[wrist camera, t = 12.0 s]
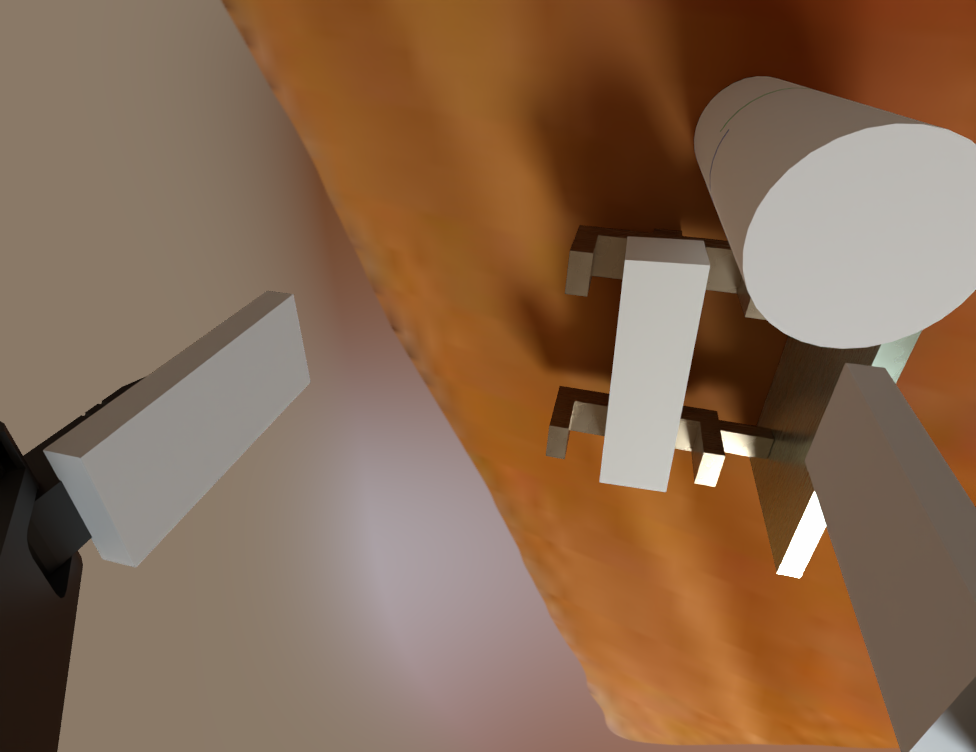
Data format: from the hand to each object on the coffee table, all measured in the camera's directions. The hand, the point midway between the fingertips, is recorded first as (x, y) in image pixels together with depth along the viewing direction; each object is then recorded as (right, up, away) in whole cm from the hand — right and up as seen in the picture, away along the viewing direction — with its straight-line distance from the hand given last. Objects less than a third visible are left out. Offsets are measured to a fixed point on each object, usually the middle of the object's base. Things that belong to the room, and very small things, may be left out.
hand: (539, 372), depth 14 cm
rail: (+11, +2, +29) cm, 31 cm away
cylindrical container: (+17, +16, +25) cm, 34 cm away
